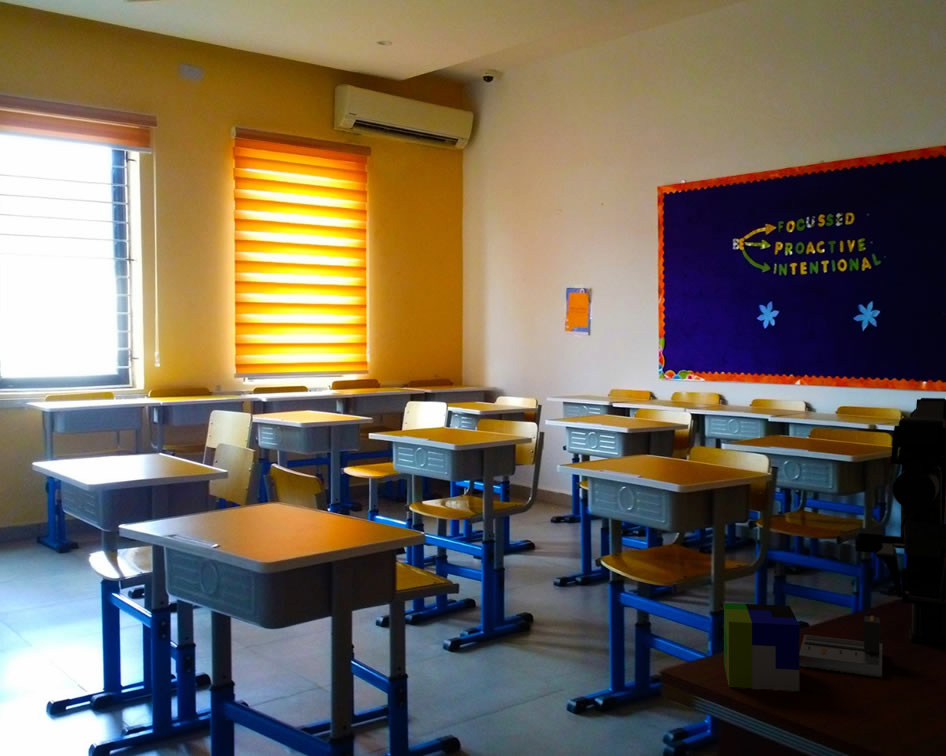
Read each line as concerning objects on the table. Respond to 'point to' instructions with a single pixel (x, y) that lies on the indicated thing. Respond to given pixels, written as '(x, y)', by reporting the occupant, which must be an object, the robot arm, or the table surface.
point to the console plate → (839, 656)
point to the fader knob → (871, 634)
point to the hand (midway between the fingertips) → (920, 598)
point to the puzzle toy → (761, 646)
